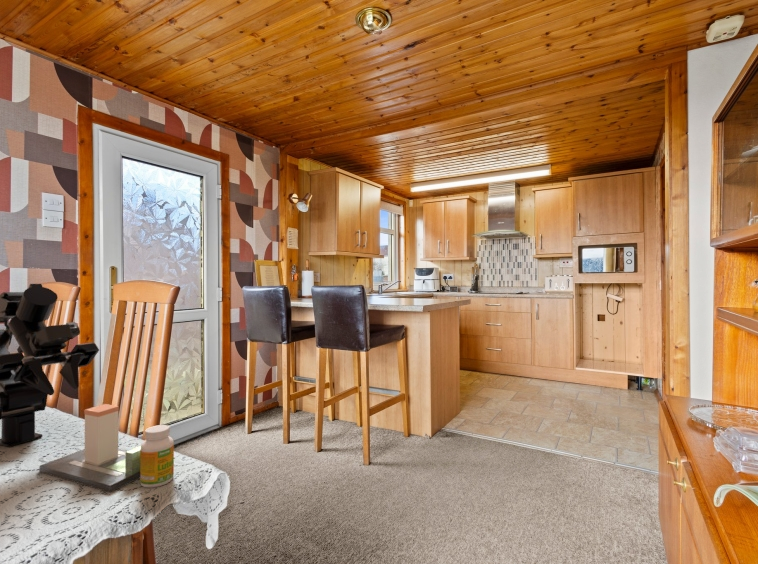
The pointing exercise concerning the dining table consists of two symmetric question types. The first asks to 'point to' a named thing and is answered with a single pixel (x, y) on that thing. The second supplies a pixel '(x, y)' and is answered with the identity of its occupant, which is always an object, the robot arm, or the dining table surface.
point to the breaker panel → (97, 469)
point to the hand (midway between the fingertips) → (65, 391)
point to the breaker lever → (101, 433)
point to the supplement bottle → (157, 457)
